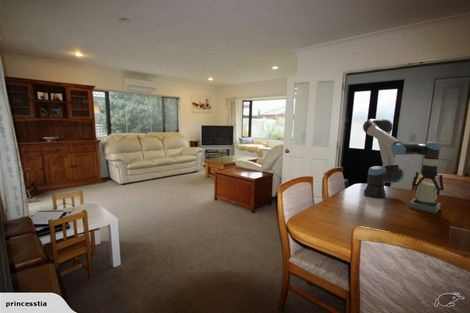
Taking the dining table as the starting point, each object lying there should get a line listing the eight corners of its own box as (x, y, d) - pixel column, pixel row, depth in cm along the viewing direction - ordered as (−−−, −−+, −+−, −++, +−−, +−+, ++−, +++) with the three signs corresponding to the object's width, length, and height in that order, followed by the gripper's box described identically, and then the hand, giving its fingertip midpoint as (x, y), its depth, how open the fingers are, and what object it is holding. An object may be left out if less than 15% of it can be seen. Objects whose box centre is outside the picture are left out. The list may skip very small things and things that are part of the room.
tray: (409, 207, 154) (409, 202, 153) (414, 203, 163) (414, 197, 162) (435, 213, 143) (436, 208, 142) (439, 208, 152) (440, 203, 151)
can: (427, 198, 156) (429, 181, 154) (438, 202, 147) (440, 185, 145) (413, 197, 157) (415, 181, 155) (423, 202, 148) (425, 184, 146)
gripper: (408, 163, 154) (405, 194, 157) (451, 168, 138) (446, 203, 141) (411, 162, 159) (407, 192, 162) (453, 166, 143) (448, 200, 146)
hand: (425, 197), depth 152 cm, fingers closed on can, 9 cm apart
